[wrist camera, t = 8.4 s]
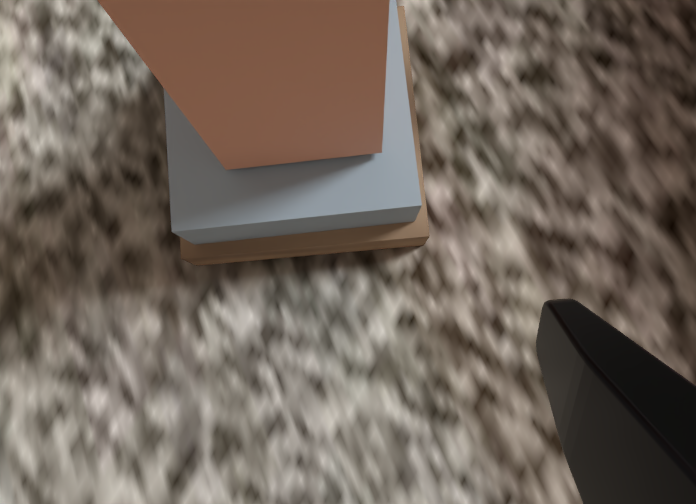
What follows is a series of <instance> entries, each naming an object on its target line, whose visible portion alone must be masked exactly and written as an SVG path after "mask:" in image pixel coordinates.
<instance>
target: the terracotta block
mask: <svg viewBox="0 0 696 504" xmlns="http://www.w3.org/2000/svg"><path fill="white" fill-rule="evenodd" d="M98 2H99V3H100V4H101V6H102V7H103V8H104V9H105V11H106V12H107V13H108V15H109V16H110V17H111V19H112V20H113V21H114V23H115V24H116V25H117V27H118V28H119V29H120V31H121V32H122V33H123V35H124V36H125V37H126V39H127V40H128V41H129V43H130V44H131V45H132V46H133V48H134V49H135V50H136V52H137V53H138V54H139V56H140V57H141V58H142V60H143V61H144V62H145V64H146V65H147V66H148V68H149V69H150V70H151V72H152V73H153V74H154V76H155V77H156V78H157V80H158V81H159V82H160V83H161V85H162V86H163V87H164V89H165V90H166V91H167V93H168V94H169V95H170V97H171V98H172V99H173V101H174V102H175V103H176V105H177V106H178V107H179V109H180V110H181V111H182V113H183V114H184V115H185V117H186V118H187V119H188V120H189V122H190V123H191V124H192V126H193V127H194V128H195V130H196V131H197V132H198V134H199V135H200V136H201V138H202V139H203V140H204V142H205V143H206V144H207V146H208V147H209V148H210V150H211V151H212V152H213V154H214V155H215V156H216V157H217V159H218V160H219V161H220V163H221V164H222V165H223V167H224V168H225V169H226V170H231V169H240V168H249V167H258V166H267V165H276V164H285V163H294V162H303V161H312V160H321V159H330V158H339V157H348V156H357V155H366V154H375V153H382V143H383V123H384V102H385V82H386V62H387V42H388V22H389V2H390V0H98Z"/></svg>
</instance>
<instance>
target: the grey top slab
mask: <svg viewBox="0 0 696 504" xmlns="http://www.w3.org/2000/svg"><path fill="white" fill-rule="evenodd" d="M164 104H165V122H166V140H167V158H168V176H169V194H170V212H171V229H172V232H173V233H175V234H176V235H178V236H180V237H182V238H184V239H185V240H187V241H189V242H191V243H192V244H194V245H197V244H206V243H216V242H225V241H234V240H244V239H253V238H263V237H272V236H282V235H291V234H300V233H310V232H319V231H329V230H338V229H348V228H357V227H367V226H376V225H385V224H395V223H404V222H414V221H415V220H416V217H417V215H418V213H419V211H420V208H421V206H422V203H421V195H420V187H419V179H418V171H417V163H416V155H415V147H414V139H413V131H412V123H411V115H410V107H409V99H408V91H407V83H406V75H405V68H404V60H403V52H402V44H401V36H400V28H399V20H398V12H397V4H396V0H390V2H389V22H388V42H387V62H386V82H385V102H384V123H383V143H382V153H375V154H366V155H357V156H348V157H339V158H330V159H321V160H312V161H303V162H294V163H285V164H276V165H267V166H258V167H249V168H240V169H231V170H226V169H225V168H224V167H223V165H222V164H221V163H220V161H219V160H218V159H217V157H216V156H215V155H214V154H213V152H212V151H211V150H210V148H209V147H208V146H207V144H206V143H205V142H204V140H203V139H202V138H201V136H200V135H199V134H198V132H197V131H196V130H195V128H194V127H193V126H192V124H191V123H190V122H189V120H188V119H187V118H186V117H185V115H184V114H183V113H182V111H181V110H180V109H179V107H178V106H177V105H176V103H175V102H174V101H173V99H172V98H171V97H170V95H169V94H168V93H167V91H166V90H165V89H164Z"/></svg>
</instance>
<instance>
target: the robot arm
mask: <svg viewBox="0 0 696 504" xmlns="http://www.w3.org/2000/svg"><path fill="white" fill-rule="evenodd" d="M536 349H537V356H538V360H539V363H540V367H541V371H542V375H543V379H544V382H545V386H546V390H547V394H548V397H549V401H550V405H551V409H552V412H553V416H554V420H555V424H556V428H557V431H558V435H559V438H560V442H561V445H562V449H563V452H564V454H565V457H566V460H567V463H568V465H569V468H570V471H571V473H572V476H573V478H574V481H575V483H576V486H577V488H578V491H579V493H580V496H581V499H582V501H583V504H696V386H695V385H694V384H692V383H691V382H690V381H688V380H687V379H685V378H684V377H683V376H681V375H680V374H678V373H677V372H676V371H674V370H673V369H671V368H670V367H669V366H667V365H666V364H664V363H663V362H662V361H660V360H659V359H657V358H656V357H655V356H653V355H652V354H650V353H649V352H648V351H646V350H645V349H643V348H642V347H641V346H639V345H638V344H636V343H635V342H634V341H632V340H631V339H630V338H628V337H627V336H625V335H624V334H623V333H621V332H620V331H618V330H617V329H616V328H614V327H613V326H611V325H610V324H609V323H607V322H606V321H604V320H603V319H602V318H600V317H599V316H597V315H596V314H595V313H593V312H592V311H590V310H589V309H588V308H586V307H585V306H583V305H582V304H581V303H579V302H578V301H576V300H574V299H558V300H549V301H546V302H545V303H544V305H543V307H542V312H541V317H540V323H539V328H538V334H537V340H536Z"/></svg>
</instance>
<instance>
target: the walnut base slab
mask: <svg viewBox="0 0 696 504" xmlns="http://www.w3.org/2000/svg"><path fill="white" fill-rule="evenodd" d="M397 12H398V20H399V28H400V36H401V44H402V52H403V60H404V68H405V75H406V83H407V91H408V99H409V107H410V115H411V123H412V131H413V139H414V147H415V155H416V163H417V171H418V179H419V187H420V195H421V203H422V206H421V208H420V211H419V213H418V215H417V217H416V220H415V221H414V222H404V223H395V224H385V225H376V226H367V227H357V228H348V229H338V230H329V231H319V232H310V233H300V234H291V235H282V236H272V237H263V238H253V239H244V240H234V241H225V242H216V243H206V244H197V245H194V244H192V243H191V242H189V241H187V240H185V239H184V238H182V237H180V252H181V259H183V260H185V261H187V262H189V263H192V264H194V265H196V266H198V265H210V264H221V263H232V262H243V261H254V260H265V259H277V258H288V257H299V256H310V255H321V254H332V253H343V252H355V251H366V250H377V249H388V248H399V247H410V246H421V245H424V244H425V242H426V241H427V239H428V238H429V236H430V235H429V226H428V217H427V208H426V199H425V190H424V181H423V172H422V163H421V154H420V145H419V136H418V127H417V118H416V109H415V100H414V91H413V82H412V73H411V64H410V55H409V46H408V37H407V28H406V19H405V10H404V6H398V7H397Z"/></svg>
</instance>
